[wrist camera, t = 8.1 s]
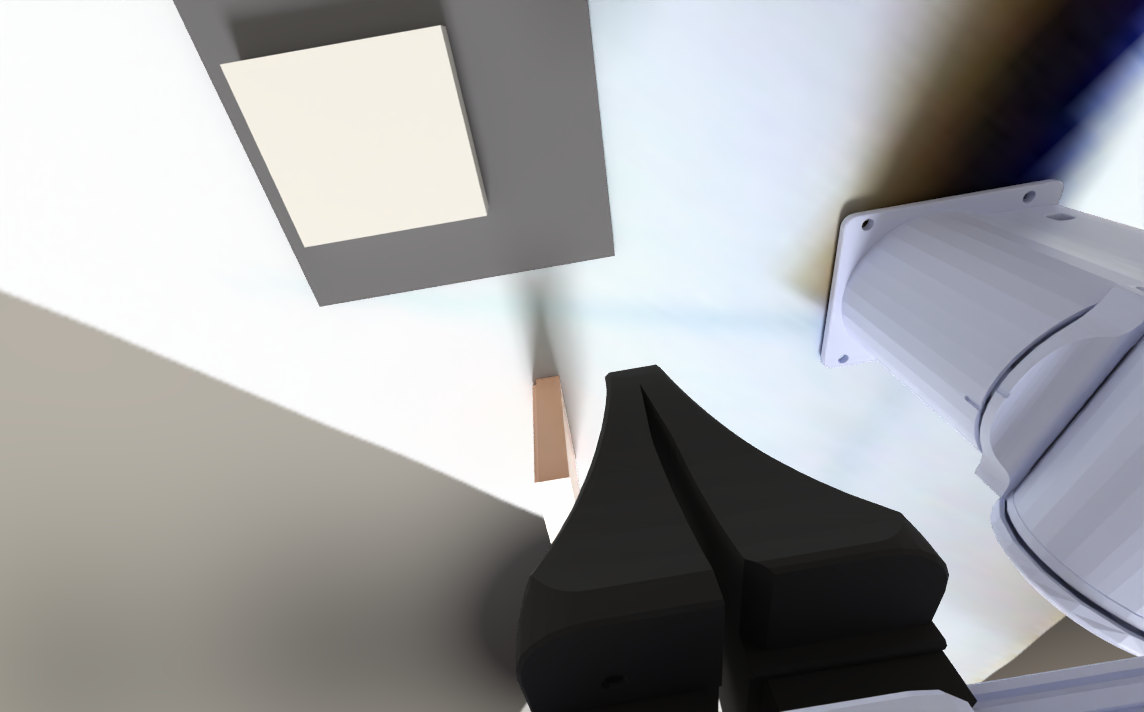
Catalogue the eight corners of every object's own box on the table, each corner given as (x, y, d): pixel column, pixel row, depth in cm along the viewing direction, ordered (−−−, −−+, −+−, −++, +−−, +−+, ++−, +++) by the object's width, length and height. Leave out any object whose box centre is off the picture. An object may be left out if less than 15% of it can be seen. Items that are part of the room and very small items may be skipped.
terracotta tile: (558, 375, 25) (569, 477, 19) (576, 460, 28) (589, 570, 22) (531, 379, 25) (533, 483, 19) (551, 464, 28) (558, 575, 22)
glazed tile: (440, 25, 15) (219, 64, 15) (487, 215, 18) (304, 247, 18) (446, 27, 16) (241, 63, 16) (489, 205, 20) (317, 235, 20)
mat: (573, -117, 15) (574, -120, 15) (613, 252, 21) (614, 255, 21) (160, -42, 15) (151, -44, 15) (322, 302, 22) (320, 306, 21)
